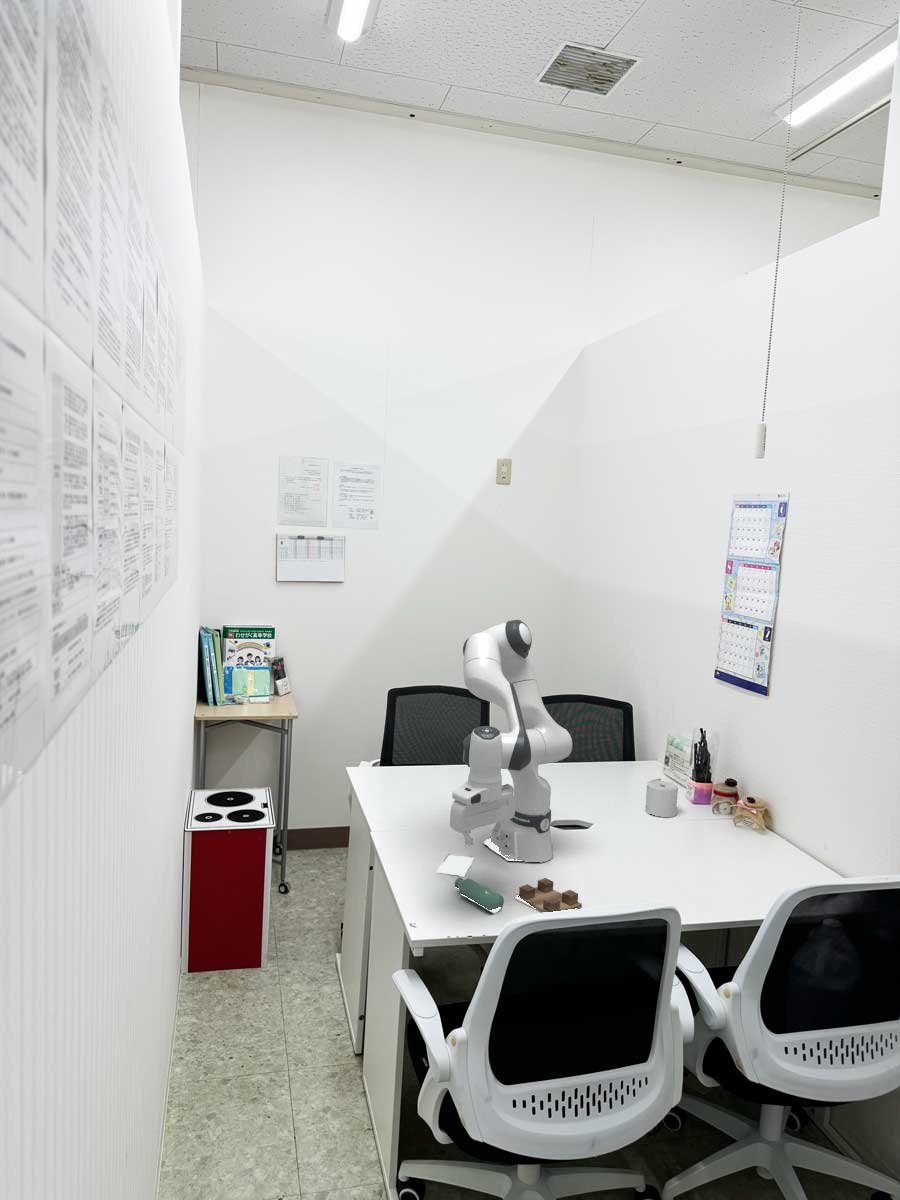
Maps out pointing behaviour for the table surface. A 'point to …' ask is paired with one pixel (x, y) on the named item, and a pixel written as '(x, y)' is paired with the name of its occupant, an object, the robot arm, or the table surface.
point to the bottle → (479, 893)
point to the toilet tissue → (661, 798)
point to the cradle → (548, 897)
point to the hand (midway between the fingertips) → (482, 840)
